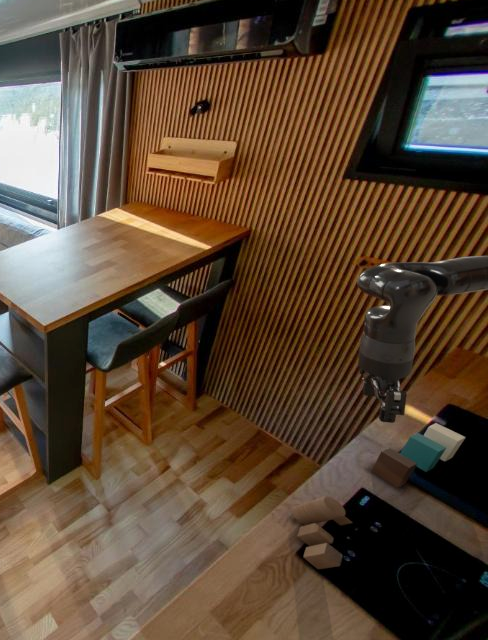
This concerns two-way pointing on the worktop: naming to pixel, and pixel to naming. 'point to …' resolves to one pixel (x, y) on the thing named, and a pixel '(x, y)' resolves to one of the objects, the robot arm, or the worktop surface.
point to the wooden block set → (320, 530)
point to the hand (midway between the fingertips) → (377, 407)
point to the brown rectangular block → (393, 467)
